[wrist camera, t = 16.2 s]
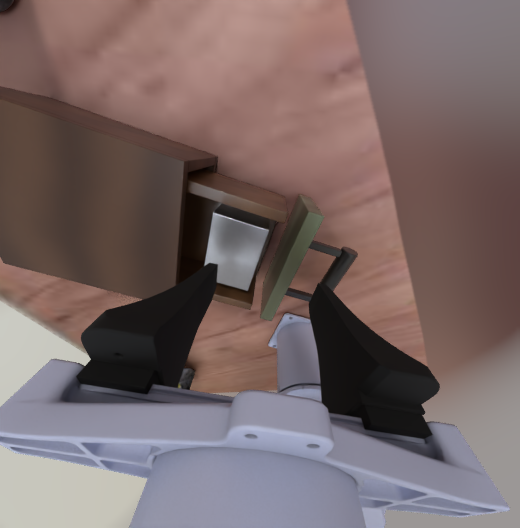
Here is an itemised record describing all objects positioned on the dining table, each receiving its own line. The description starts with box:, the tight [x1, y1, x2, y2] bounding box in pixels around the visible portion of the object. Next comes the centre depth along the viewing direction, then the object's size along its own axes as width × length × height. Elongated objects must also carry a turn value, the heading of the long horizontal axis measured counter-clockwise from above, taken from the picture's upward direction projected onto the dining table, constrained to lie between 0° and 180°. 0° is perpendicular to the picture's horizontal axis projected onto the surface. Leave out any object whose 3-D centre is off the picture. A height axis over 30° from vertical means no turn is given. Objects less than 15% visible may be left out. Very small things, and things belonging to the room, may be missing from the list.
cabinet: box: [0, 86, 218, 299], centre depth 16 cm, size 14×12×7 cm
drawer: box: [179, 169, 358, 321], centre depth 17 cm, size 18×11×6 cm, turn 73°
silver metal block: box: [204, 204, 270, 291], centre depth 17 cm, size 6×4×4 cm
